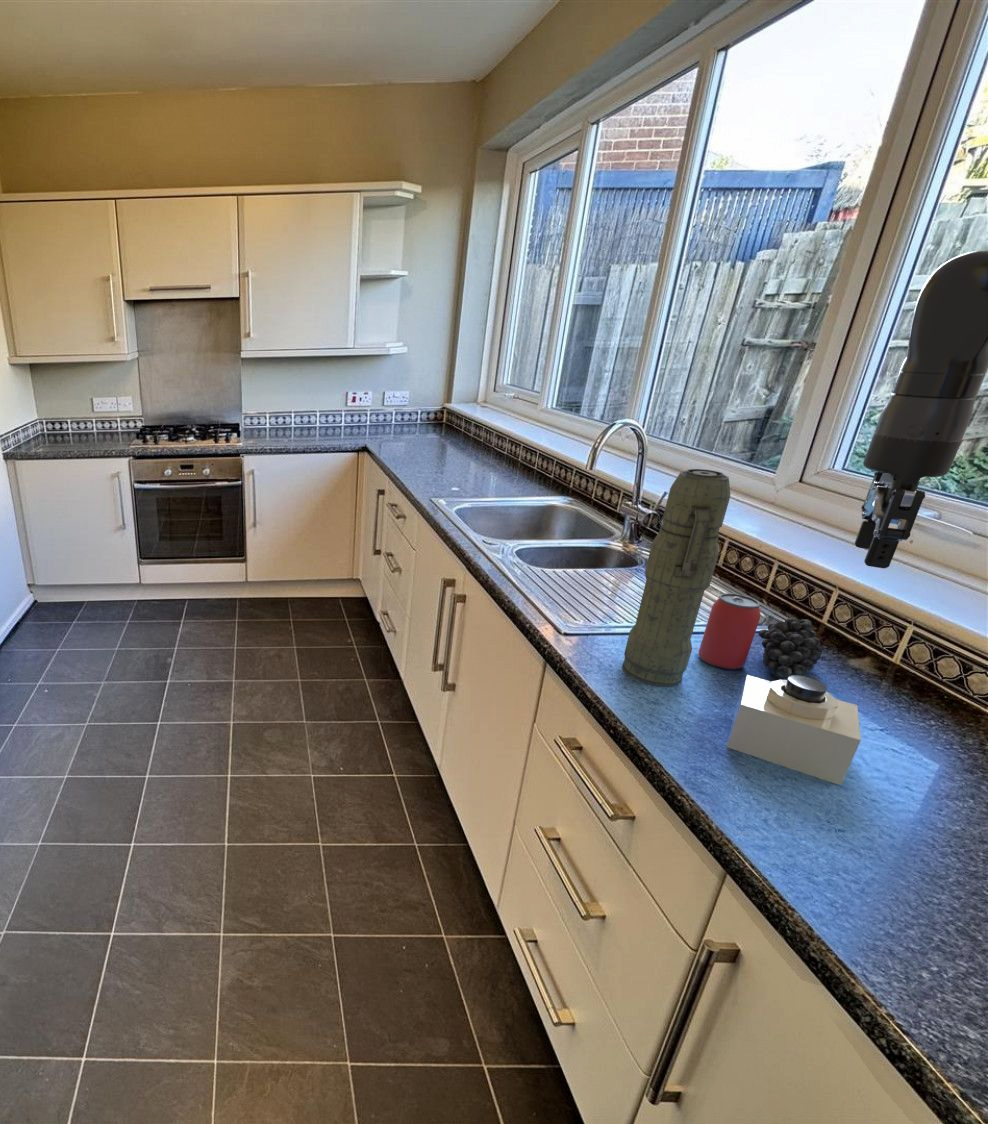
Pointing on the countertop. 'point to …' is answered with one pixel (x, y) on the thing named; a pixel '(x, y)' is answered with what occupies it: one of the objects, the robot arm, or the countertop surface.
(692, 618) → the thermos
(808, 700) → the black push button
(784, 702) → the push button housing
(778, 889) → the countertop surface
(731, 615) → the beer can
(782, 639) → the fruit
